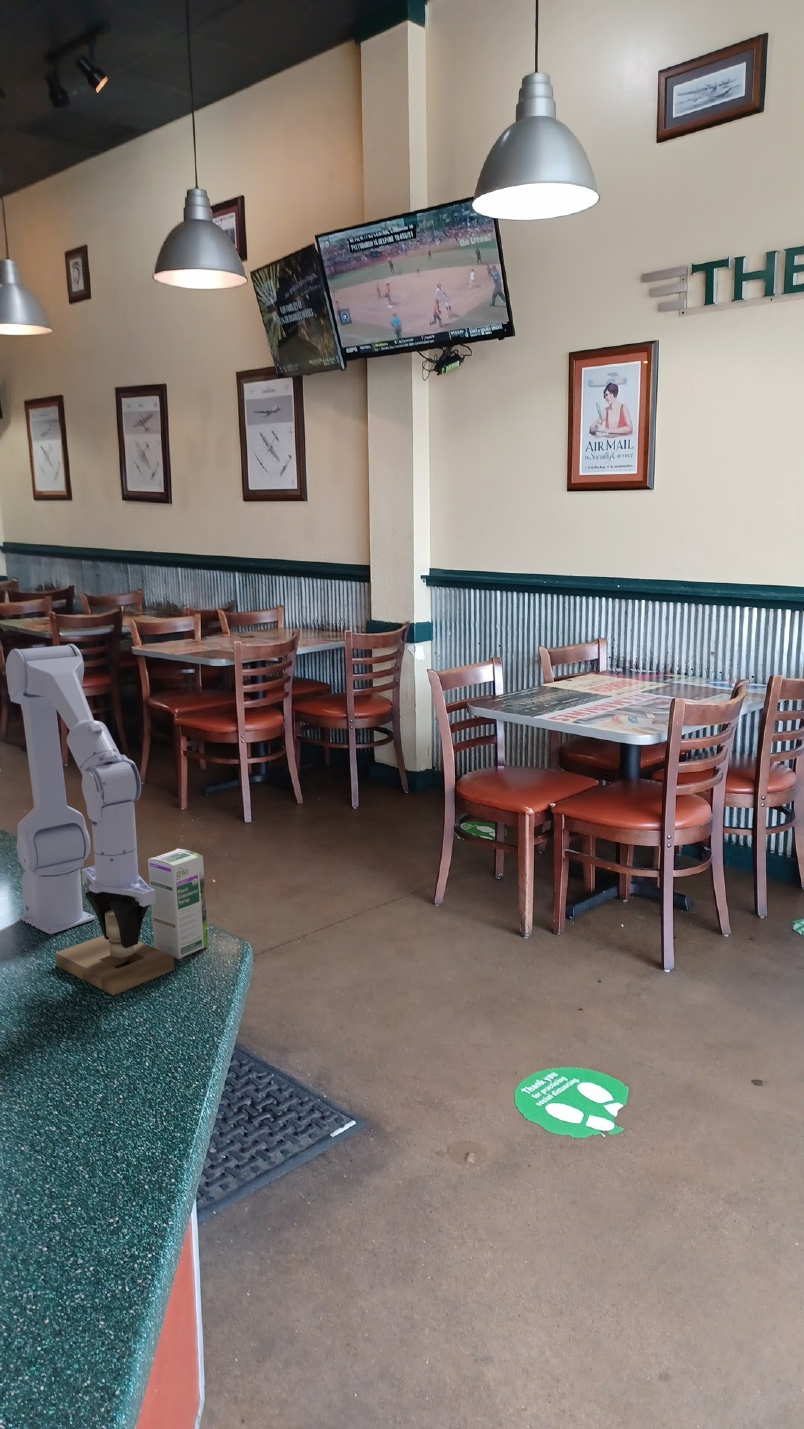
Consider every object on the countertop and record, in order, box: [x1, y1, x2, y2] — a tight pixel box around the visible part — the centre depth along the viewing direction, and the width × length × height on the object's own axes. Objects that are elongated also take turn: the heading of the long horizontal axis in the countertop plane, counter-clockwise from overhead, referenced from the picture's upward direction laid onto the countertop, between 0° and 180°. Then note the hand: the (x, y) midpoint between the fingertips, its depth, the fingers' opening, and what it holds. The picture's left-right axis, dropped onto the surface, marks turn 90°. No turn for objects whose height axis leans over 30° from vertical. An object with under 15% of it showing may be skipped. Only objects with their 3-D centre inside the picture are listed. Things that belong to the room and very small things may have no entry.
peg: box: [105, 909, 134, 958], centre depth 140 cm, size 4×4×6 cm
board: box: [55, 934, 175, 996], centre depth 143 cm, size 14×10×2 cm
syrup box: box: [147, 848, 209, 960], centre depth 147 cm, size 6×6×14 cm
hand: (121, 941), depth 141 cm, fingers closed on peg, 4 cm apart
